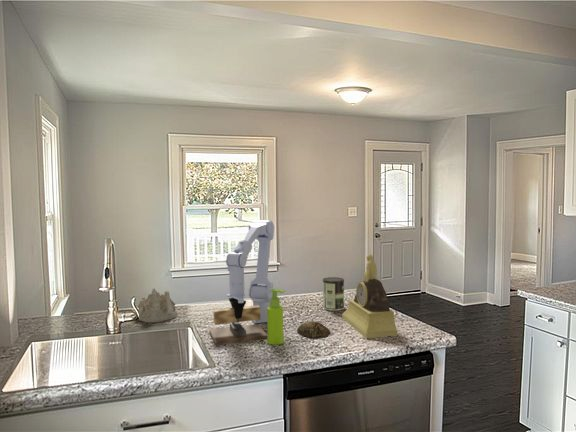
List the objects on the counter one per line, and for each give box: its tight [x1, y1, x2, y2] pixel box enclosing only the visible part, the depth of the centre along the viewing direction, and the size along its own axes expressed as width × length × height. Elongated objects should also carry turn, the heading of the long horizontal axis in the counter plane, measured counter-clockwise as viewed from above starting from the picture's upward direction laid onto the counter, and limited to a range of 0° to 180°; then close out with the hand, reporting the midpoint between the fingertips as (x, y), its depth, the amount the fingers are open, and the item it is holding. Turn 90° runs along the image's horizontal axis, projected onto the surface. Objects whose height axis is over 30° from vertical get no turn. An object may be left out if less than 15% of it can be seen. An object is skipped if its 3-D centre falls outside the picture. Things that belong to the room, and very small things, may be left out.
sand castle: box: [137, 287, 178, 323], centre depth 197 cm, size 16×16×15 cm
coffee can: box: [322, 276, 345, 312], centre depth 208 cm, size 10×10×14 cm
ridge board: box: [209, 322, 268, 346], centre depth 170 cm, size 20×15×4 cm
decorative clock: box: [341, 253, 398, 339], centre depth 179 cm, size 28×13×30 cm, turn 12°
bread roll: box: [296, 320, 331, 339], centre depth 172 cm, size 13×12×5 cm
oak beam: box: [213, 305, 260, 325], centre depth 170 cm, size 18×3×5 cm, turn 109°
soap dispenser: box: [266, 288, 286, 346], centre depth 161 cm, size 6×7×20 cm
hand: (237, 317), depth 170 cm, fingers closed on oak beam, 3 cm apart
